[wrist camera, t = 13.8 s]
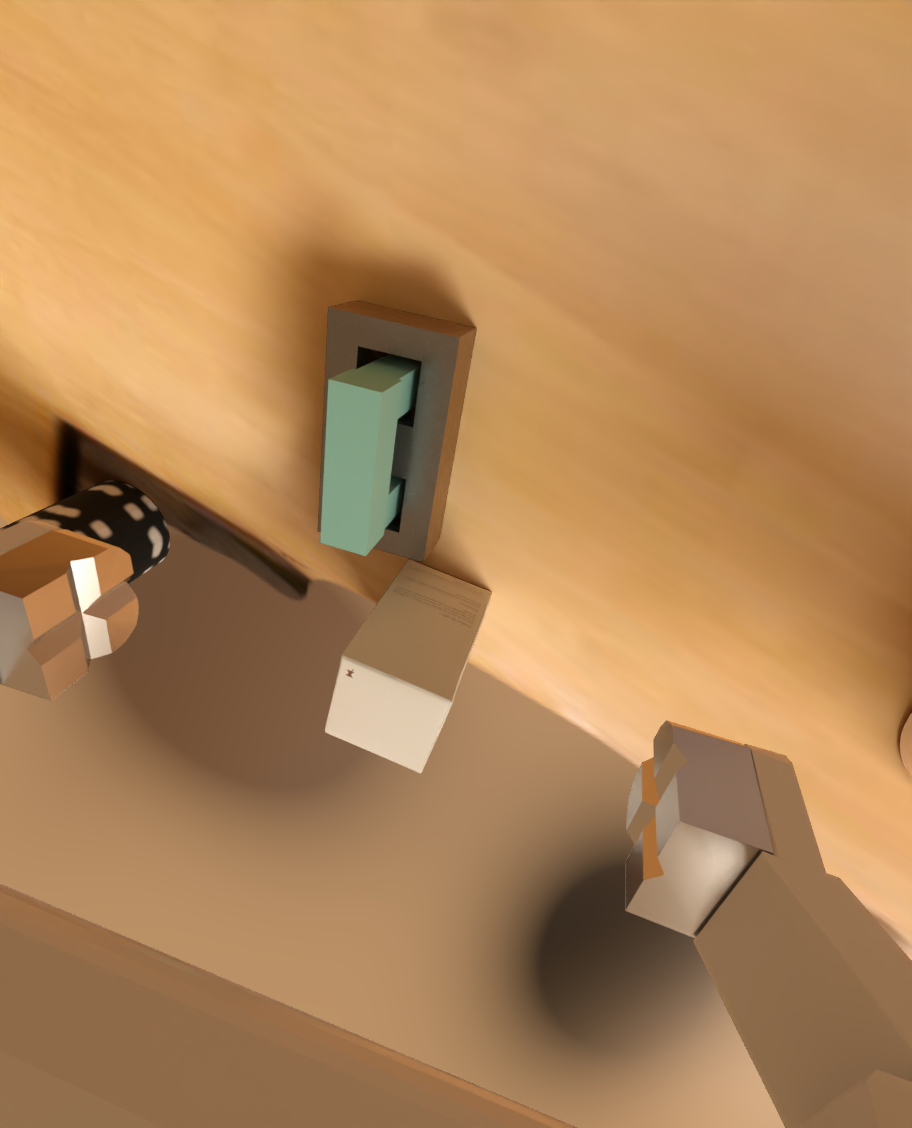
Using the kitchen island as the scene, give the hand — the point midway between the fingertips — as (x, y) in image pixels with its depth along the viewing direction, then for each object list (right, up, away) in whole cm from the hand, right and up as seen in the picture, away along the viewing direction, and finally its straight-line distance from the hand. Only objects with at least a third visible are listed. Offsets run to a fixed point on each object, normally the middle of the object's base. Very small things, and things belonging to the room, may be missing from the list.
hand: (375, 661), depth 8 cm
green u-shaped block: (-3, +11, +32) cm, 34 cm away
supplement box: (0, -2, +39) cm, 39 cm away
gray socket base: (-3, +11, +32) cm, 34 cm away
